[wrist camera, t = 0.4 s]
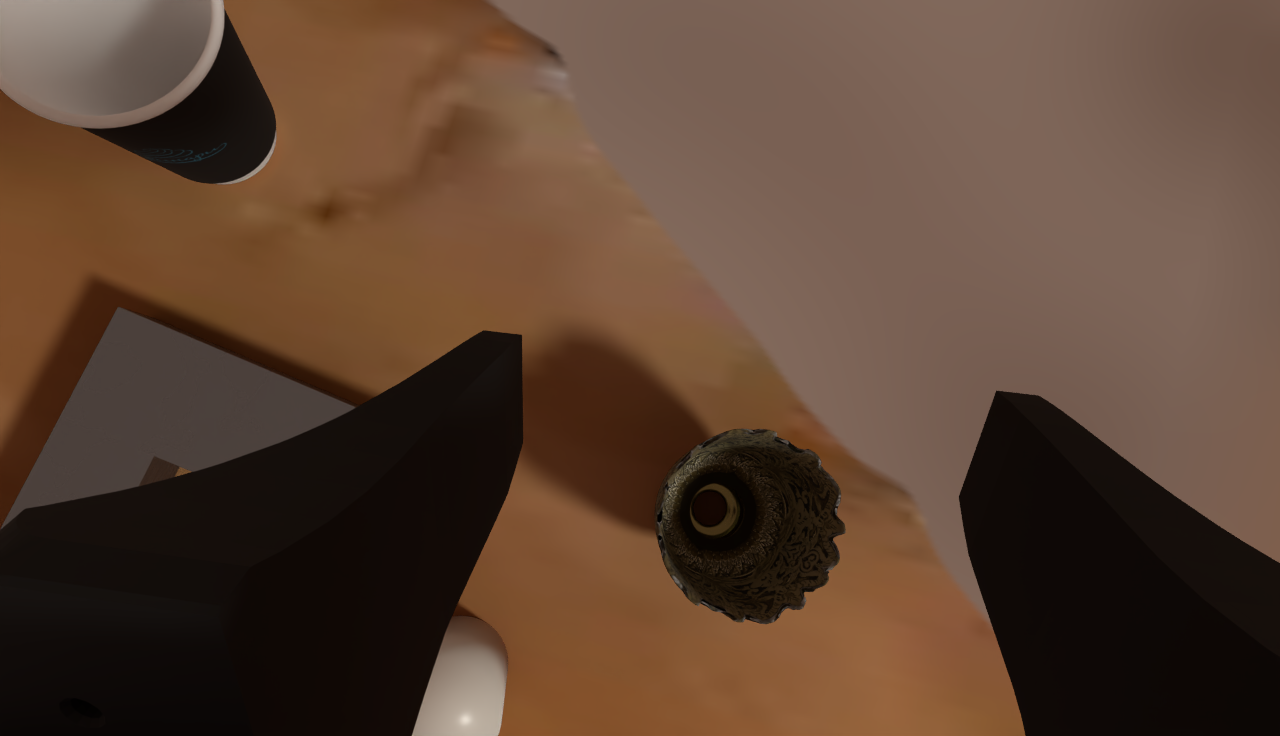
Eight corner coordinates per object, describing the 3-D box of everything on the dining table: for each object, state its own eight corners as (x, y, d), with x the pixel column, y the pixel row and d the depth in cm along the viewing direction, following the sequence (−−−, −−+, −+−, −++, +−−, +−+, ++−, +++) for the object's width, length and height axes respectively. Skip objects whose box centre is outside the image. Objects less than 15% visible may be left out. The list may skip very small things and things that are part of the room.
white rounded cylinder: (484, 729, 37) (472, 796, 30) (393, 693, 36) (360, 753, 29) (523, 637, 37) (521, 682, 30) (435, 601, 37) (411, 638, 30)
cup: (605, 541, 38) (623, 567, 30) (677, 404, 39) (713, 394, 31) (741, 613, 39) (794, 658, 31) (809, 476, 40) (877, 485, 32)
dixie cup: (200, 251, 37) (61, 172, 26) (95, 113, 37) (-90, -24, 26) (346, 155, 38) (270, 40, 27) (244, 21, 38) (127, -147, 27)
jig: (286, 775, 35) (263, 806, 32) (-26, 657, 34) (-79, 677, 31) (440, 440, 37) (432, 439, 35) (152, 317, 36) (118, 306, 33)
